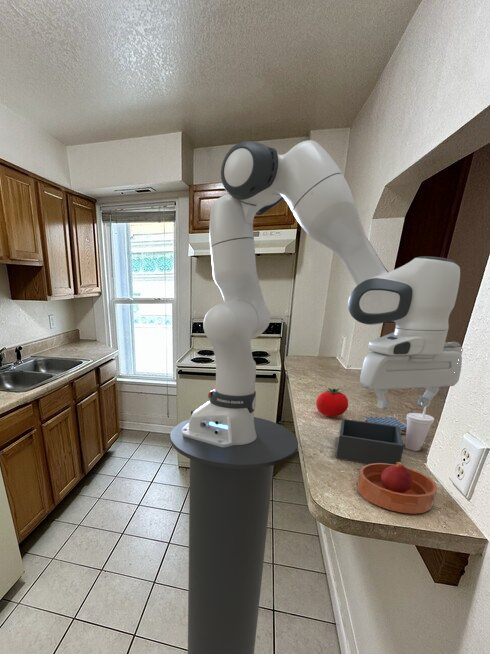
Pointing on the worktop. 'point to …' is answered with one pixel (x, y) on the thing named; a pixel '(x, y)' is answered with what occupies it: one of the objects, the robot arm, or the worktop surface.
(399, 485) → the pomegranate
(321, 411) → the tomato
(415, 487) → the bowl
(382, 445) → the bin
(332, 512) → the worktop surface
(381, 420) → the woven mat
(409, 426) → the smoothie
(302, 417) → the worktop surface
